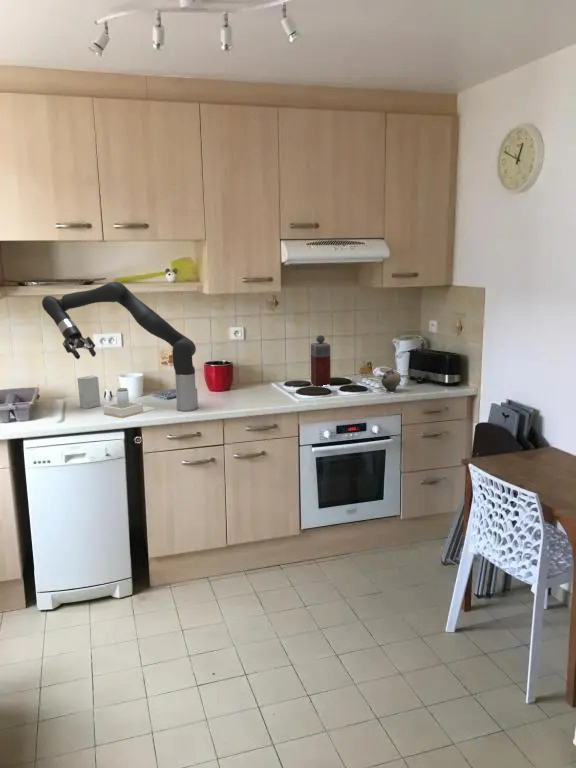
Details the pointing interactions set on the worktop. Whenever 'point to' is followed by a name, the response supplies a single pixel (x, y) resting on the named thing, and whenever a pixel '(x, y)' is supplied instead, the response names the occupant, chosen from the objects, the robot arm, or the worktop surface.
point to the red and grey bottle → (320, 362)
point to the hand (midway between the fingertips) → (86, 356)
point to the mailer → (125, 410)
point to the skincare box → (89, 391)
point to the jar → (122, 398)
